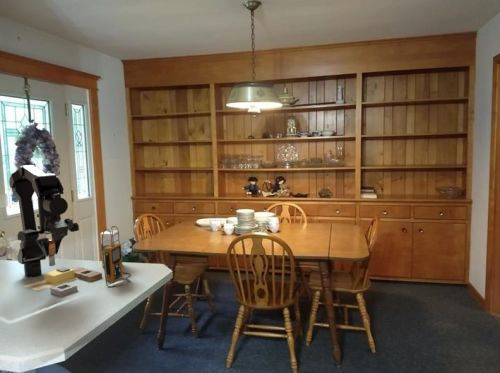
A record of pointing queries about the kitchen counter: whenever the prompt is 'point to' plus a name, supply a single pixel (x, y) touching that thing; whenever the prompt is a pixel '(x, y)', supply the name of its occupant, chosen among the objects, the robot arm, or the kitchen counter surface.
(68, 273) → the block
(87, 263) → the kitchen counter surface
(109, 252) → the multimeter
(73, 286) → the awl holder
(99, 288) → the kitchen counter surface
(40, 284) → the subfloor panel
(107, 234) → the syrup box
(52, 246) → the awl
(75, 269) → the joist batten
